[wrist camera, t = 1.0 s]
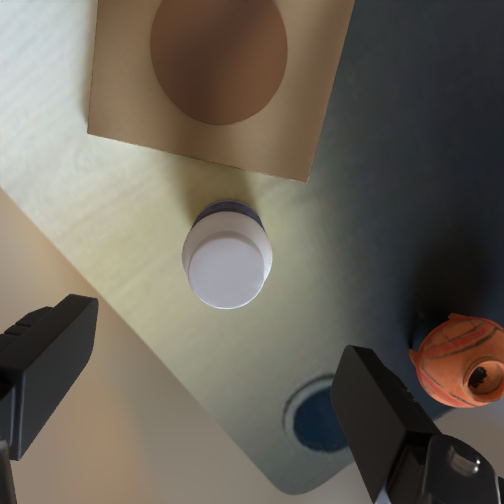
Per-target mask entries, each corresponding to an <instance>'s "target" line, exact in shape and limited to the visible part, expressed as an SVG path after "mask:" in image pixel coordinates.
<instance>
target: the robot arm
mask: <svg viewBox="0 0 504 504" xmlns="http://www.w3.org/2000/svg"><path fill="white" fill-rule="evenodd" d="M97 314H98V299H97V298H92V297H87V296H81V295H76V294H69V295H68V296H67V297H66V298H64V299H63V300H62V301H61V302H60V303H58V304H57V305H56V306H55V307H54V308H53V307H47V306H46V307H44V308H41V309H38V310H36V311H33V312H30V313H28V314H27V315H25V316H24V317H23V318H22V319H20V320H19V321H18V322H16V323H15V325H12V326H11V327H10V328H8V329H7V330H6V331H5V332H4V334H0V504H17V501H16V495H15V488H14V482H13V476H12V470H11V464H10V460H16V461H19V460H20V459H21V458H22V456H23V455H24V453H25V452H26V450H27V449H28V447H29V446H30V445H31V443H32V442H33V440H34V439H35V438H36V436H37V435H38V433H39V432H40V430H41V429H42V427H43V426H44V425H45V423H46V422H47V420H48V419H49V418H50V416H51V415H52V413H53V412H54V410H55V409H56V407H57V406H58V405H59V403H60V402H61V400H62V399H63V398H64V396H65V395H66V393H67V392H68V390H69V389H70V387H71V386H72V384H73V383H74V382H75V380H76V379H77V377H78V376H79V375H80V373H81V372H82V370H83V369H84V367H85V366H86V364H87V363H88V361H89V358H90V356H91V353H92V349H93V345H94V338H95V330H96V321H97ZM331 402H332V406H333V408H334V410H335V413H336V415H337V418H338V420H339V423H340V425H341V427H342V430H343V432H344V435H345V437H346V440H347V442H348V444H349V447H350V449H351V452H352V454H353V456H354V459H355V461H356V464H357V466H358V469H359V471H360V473H361V476H362V478H363V481H364V483H365V485H366V488H367V490H368V493H369V495H370V498H371V500H372V502H373V504H504V479H503V478H501V477H498V476H497V475H496V473H495V471H494V469H493V467H492V466H491V465H490V463H489V462H488V461H487V460H486V459H485V458H484V457H483V456H482V455H481V454H480V453H479V452H477V451H476V450H475V449H474V448H472V447H471V446H469V445H468V444H466V443H464V442H463V441H461V440H459V439H457V438H454V437H452V436H448V435H444V434H442V433H441V432H440V430H439V429H438V428H437V427H436V425H435V424H434V423H433V421H432V420H431V419H430V417H429V416H428V415H427V413H426V412H425V411H424V410H423V408H422V407H421V406H420V404H419V403H418V402H416V399H415V398H414V397H413V395H412V394H411V393H410V392H408V389H407V387H406V386H405V385H404V384H403V382H402V381H401V380H400V378H399V377H398V376H396V375H395V374H394V373H393V372H391V371H390V370H389V369H388V368H387V367H385V366H384V365H383V363H382V362H381V361H380V359H379V358H378V357H377V355H376V354H375V353H374V351H373V350H372V349H369V348H364V347H358V346H353V345H348V346H346V348H345V349H344V351H343V354H342V357H341V360H340V362H339V365H338V368H337V371H336V374H335V377H334V380H333V383H332V386H331Z"/></svg>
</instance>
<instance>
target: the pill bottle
mask: <svg viewBox="0 0 504 504" xmlns="http://www.w3.org/2000/svg"><path fill="white" fill-rule="evenodd" d="M182 261H183V266H184V270H185V272H186V274H187V276H188V279H189V283H190V286H191V288H192V290H193V291H194V293H195V294H196V295H197V297H198V298H199V299H201V300H202V301H203V302H205V303H206V304H208V305H210V306H213V307H216V308H220V309H233V308H237V307H241V306H243V305H245V304H247V303H248V302H250V301H251V300H252V299H254V298H255V297H256V295H257V294H258V293H259V291H260V290H261V288H262V286H263V283H264V281H265V279H266V278H267V276H268V274H269V272H270V269H271V265H272V248H271V244H270V241H269V239H268V236H267V234H266V232H265V230H264V227H263V225H262V223H261V220H260V218H259V216H258V215H257V213H256V212H255V211H254V210H253V209H252V208H251V207H250V206H249V205H247V204H246V203H244V202H242V201H239V200H236V199H221V200H217V201H215V202H213V203H211V204H209V205H208V206H206V207H205V208H204V209H203V210H202V211H201V213H200V214H199V216H198V217H197V219H196V221H195V223H194V224H193V226H192V228H191V230H190V232H189V233H188V235H187V237H186V240H185V242H184V246H183V251H182Z"/></svg>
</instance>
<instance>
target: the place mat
mask: <svg viewBox="0 0 504 504" xmlns="http://www.w3.org/2000/svg"><path fill="white" fill-rule="evenodd" d="M354 3H355V0H98V12H97V23H96V35H95V47H94V58H93V70H92V82H91V93H90V105H89V117H88V128H87V133H88V134H91V135H95V136H100V137H104V138H108V139H113V140H117V141H122V142H126V143H130V144H135V145H139V146H143V147H148V148H152V149H157V150H161V151H165V152H170V153H174V154H179V155H183V156H187V157H192V158H196V159H201V160H205V161H209V162H214V163H218V164H222V165H227V166H231V167H236V168H240V169H244V170H249V171H253V172H258V173H262V174H266V175H271V176H275V177H279V178H284V179H288V180H293V181H297V182H301V183H306V184H307V182H308V179H309V175H310V171H311V167H312V163H313V159H314V156H315V152H316V148H317V144H318V140H319V137H320V133H321V129H322V125H323V121H324V117H325V114H326V110H327V106H328V102H329V98H330V95H331V91H332V87H333V83H334V79H335V75H336V72H337V68H338V64H339V60H340V56H341V53H342V49H343V45H344V41H345V37H346V33H347V30H348V26H349V22H350V18H351V14H352V11H353V7H354Z"/></svg>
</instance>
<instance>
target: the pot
mask: <svg viewBox="0 0 504 504" xmlns="http://www.w3.org/2000/svg"><path fill="white" fill-rule="evenodd" d="M447 318H448V319H450V320H448V321H446V322H444V323H443V324H441V325H439V326H438V327H436V328H435V329H433V330H432V331H431V332H430V333H429V334H428V335H427V337H426V338H425V339H424V340H423V342H422V343H421V345H420V348H419V351H415V350H413V349H410V350H409V355H410V358H411V360H412V362H413V364H414V365H415V366H416V371H417V376H418V379H419V381H420V383H421V385H422V387H423V388H424V390H425V391H426V392H427V393H428V394H429V395H430V396H431V397H433V398H434V399H436V400H437V401H439V402H441V403H444V404H446V405H450V406H454V407H461V408H468V407H477V406H481V405H485V404H488V403H491V402H495V401H498V400H499V399H501V397H502V396H503V395H504V329H503V328H502V327H501V326H500V325H498V324H497V323H495V322H493V321H491V320H488V319H483V318H478V317H466V316H462V315H459V314H456V313H451V314H450V315H449V316H448V317H447Z"/></svg>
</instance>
